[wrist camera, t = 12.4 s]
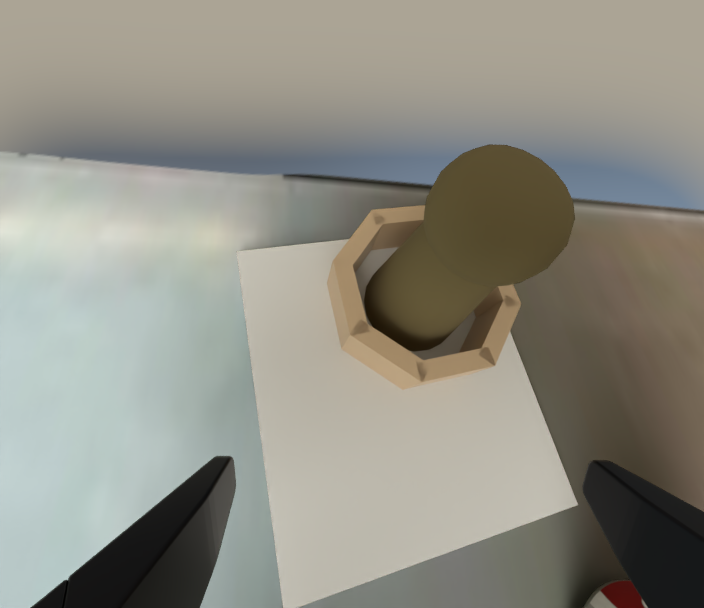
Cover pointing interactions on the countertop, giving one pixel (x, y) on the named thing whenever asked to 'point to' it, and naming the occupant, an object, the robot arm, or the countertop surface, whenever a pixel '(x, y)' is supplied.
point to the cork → (470, 244)
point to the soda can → (616, 596)
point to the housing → (385, 419)
